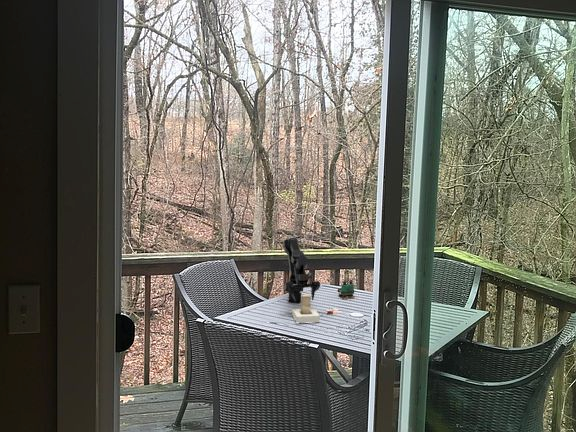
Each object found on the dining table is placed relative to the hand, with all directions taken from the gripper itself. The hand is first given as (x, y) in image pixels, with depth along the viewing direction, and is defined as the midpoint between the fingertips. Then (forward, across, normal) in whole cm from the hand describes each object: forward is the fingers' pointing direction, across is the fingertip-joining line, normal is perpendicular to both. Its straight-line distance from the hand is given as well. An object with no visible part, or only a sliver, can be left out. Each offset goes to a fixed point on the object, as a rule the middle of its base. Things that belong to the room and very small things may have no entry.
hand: (304, 300), depth 326 cm
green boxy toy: (-14, +31, +28) cm, 44 cm away
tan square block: (+9, 0, +4) cm, 10 cm away
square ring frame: (+9, 0, +4) cm, 10 cm away
